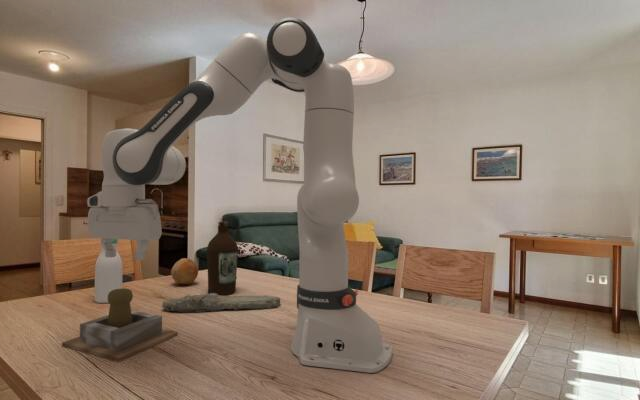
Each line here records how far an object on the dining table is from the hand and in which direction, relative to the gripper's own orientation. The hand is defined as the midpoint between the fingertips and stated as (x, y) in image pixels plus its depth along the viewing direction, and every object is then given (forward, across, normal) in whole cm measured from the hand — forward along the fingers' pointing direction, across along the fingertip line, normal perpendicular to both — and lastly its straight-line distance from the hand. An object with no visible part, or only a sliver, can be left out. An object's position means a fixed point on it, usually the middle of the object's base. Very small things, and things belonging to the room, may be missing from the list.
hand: (124, 258), depth 85 cm
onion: (+20, +28, -48) cm, 58 cm away
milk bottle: (+19, +34, -21) cm, 44 cm away
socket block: (+19, +1, 0) cm, 19 cm away
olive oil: (+20, +8, -45) cm, 49 cm away
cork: (+18, +2, 0) cm, 19 cm away
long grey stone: (+20, -4, -31) cm, 37 cm away
